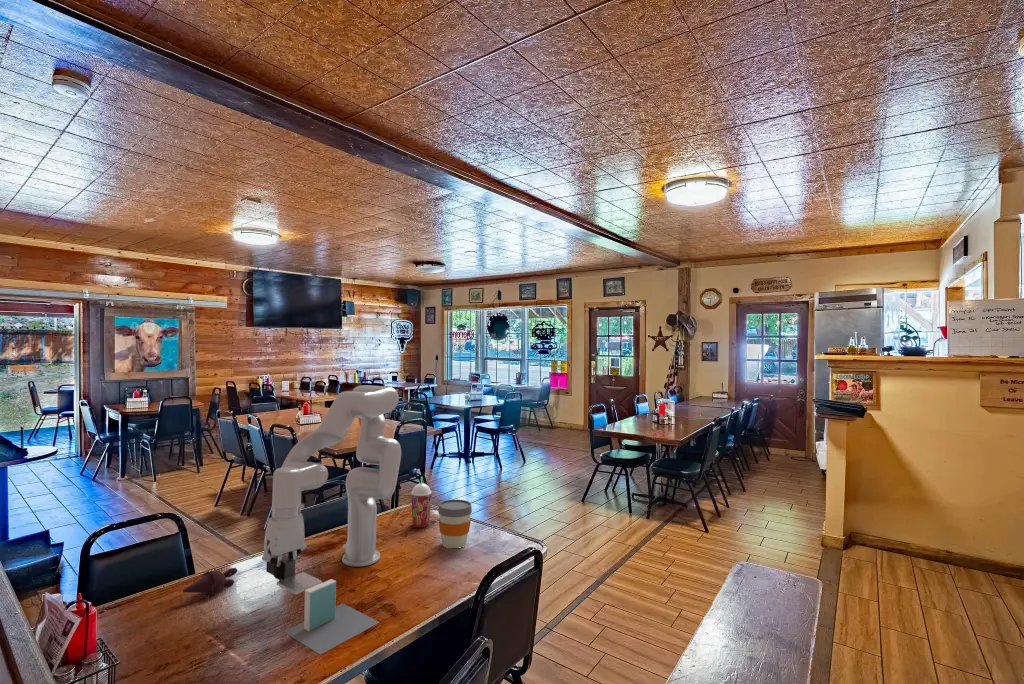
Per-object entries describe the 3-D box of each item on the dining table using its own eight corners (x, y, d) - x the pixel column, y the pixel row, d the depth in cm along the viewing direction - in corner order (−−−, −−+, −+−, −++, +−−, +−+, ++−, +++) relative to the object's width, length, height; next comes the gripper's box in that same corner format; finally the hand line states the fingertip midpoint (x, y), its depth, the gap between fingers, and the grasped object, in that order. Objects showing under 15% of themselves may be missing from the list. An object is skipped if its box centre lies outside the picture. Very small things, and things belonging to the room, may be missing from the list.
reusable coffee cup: (453, 535, 201) (454, 497, 201) (477, 543, 194) (478, 503, 194) (430, 545, 191) (431, 505, 191) (455, 554, 184) (456, 512, 184)
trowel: (257, 574, 147) (258, 557, 147) (283, 565, 153) (284, 548, 153) (295, 594, 135) (295, 575, 136) (322, 583, 142) (322, 565, 142)
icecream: (191, 586, 143) (244, 571, 155) (180, 572, 147) (232, 559, 159) (185, 609, 143) (238, 593, 156) (174, 595, 147) (227, 580, 160)
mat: (283, 633, 132) (283, 631, 132) (342, 605, 147) (342, 603, 147) (320, 657, 123) (320, 654, 123) (379, 624, 137) (379, 622, 137)
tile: (304, 628, 133) (304, 590, 133) (330, 615, 140) (331, 579, 140) (309, 631, 132) (310, 592, 132) (335, 618, 139) (336, 581, 139)
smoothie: (434, 523, 213) (435, 475, 213) (423, 530, 206) (424, 480, 206) (418, 520, 217) (419, 473, 217) (406, 526, 209) (407, 477, 209)
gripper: (304, 502, 155) (302, 563, 155) (251, 515, 142) (248, 583, 141) (319, 507, 150) (317, 570, 150) (265, 521, 137) (263, 591, 137)
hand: (284, 576), depth 146 cm, fingers closed on trowel, 2 cm apart
